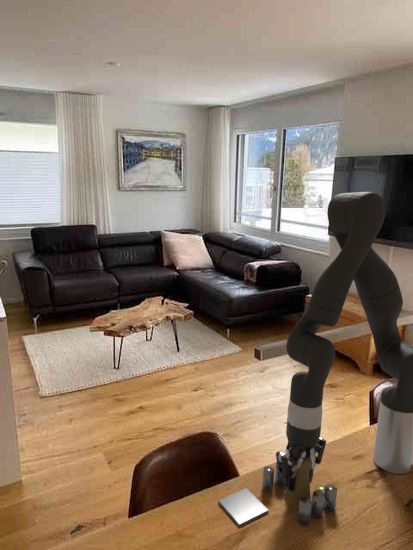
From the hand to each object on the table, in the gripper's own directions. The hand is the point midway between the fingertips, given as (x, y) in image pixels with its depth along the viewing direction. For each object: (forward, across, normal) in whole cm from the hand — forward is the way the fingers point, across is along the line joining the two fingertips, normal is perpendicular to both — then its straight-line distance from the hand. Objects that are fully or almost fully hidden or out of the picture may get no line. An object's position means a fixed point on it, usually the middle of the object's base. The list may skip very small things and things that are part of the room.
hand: (298, 484), depth 96 cm
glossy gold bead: (+4, -6, +2) cm, 8 cm away
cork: (+4, 0, 0) cm, 4 cm away
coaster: (+3, +13, -4) cm, 14 cm away
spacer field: (+3, 0, 0) cm, 3 cm away
